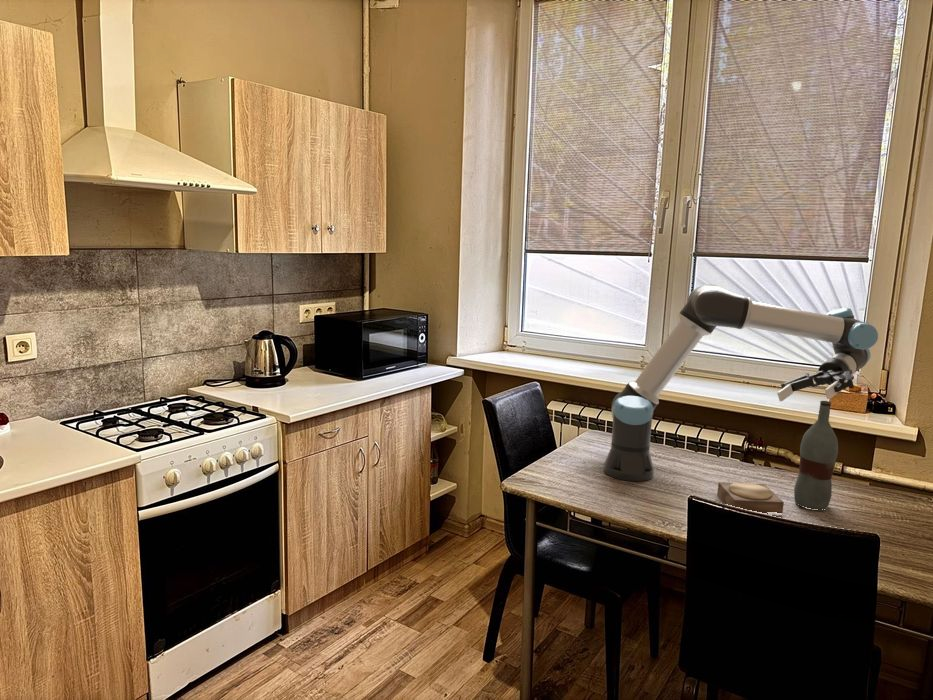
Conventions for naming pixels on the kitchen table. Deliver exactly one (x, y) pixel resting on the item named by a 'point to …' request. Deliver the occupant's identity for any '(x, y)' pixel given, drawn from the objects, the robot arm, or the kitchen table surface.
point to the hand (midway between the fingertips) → (802, 395)
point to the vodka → (817, 462)
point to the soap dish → (750, 497)
